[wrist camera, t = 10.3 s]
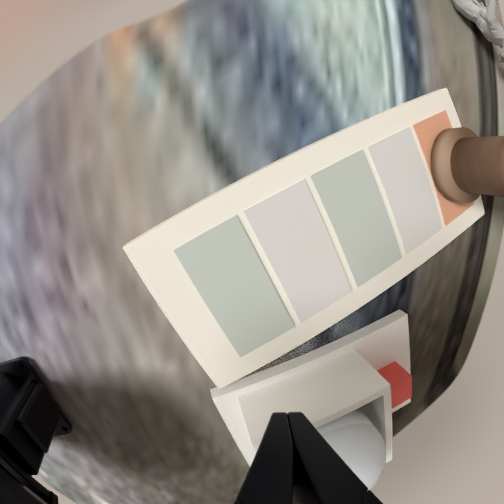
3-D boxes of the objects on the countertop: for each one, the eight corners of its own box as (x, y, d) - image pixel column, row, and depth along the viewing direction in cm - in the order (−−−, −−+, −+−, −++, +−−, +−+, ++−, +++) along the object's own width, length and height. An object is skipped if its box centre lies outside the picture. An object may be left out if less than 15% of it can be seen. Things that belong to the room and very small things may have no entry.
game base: (251, 465, 22) (268, 517, 16) (210, 389, 19) (221, 449, 14) (404, 395, 23) (441, 431, 18) (399, 309, 21) (449, 341, 16)
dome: (286, 469, 19) (313, 532, 13) (263, 418, 17) (293, 494, 12) (362, 435, 20) (402, 489, 14) (354, 379, 18) (406, 439, 12)
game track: (217, 380, 19) (219, 390, 18) (125, 243, 16) (122, 247, 15) (475, 212, 21) (485, 213, 20) (437, 89, 18) (447, 87, 17)
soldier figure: (433, -41, 17) (526, 43, 16) (408, -15, 20) (500, 70, 20) (431, -71, 11) (550, 35, 11) (400, -39, 14) (519, 68, 14)
